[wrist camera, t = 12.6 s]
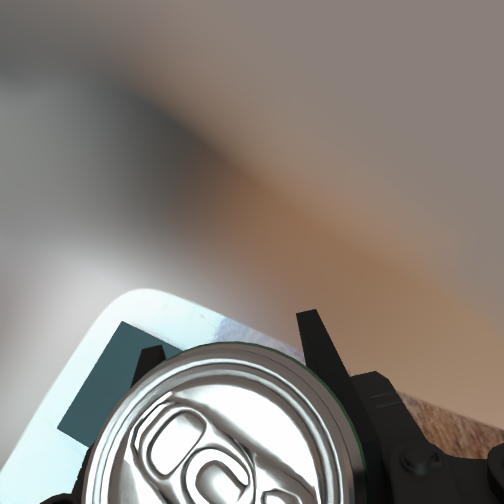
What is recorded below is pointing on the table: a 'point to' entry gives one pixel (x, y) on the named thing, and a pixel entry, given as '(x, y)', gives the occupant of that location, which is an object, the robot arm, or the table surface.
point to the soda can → (228, 435)
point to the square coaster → (108, 382)
